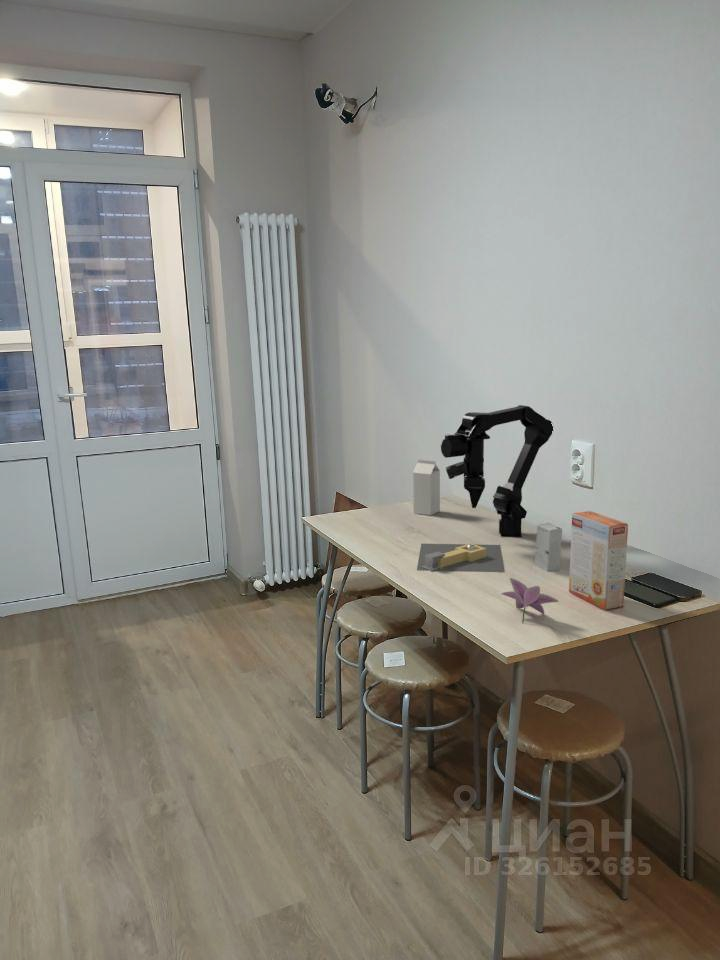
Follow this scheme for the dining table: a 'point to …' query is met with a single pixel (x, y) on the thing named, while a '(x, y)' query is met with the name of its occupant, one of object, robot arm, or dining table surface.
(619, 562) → the cracker box
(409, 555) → the dining table surface
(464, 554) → the link
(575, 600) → the dining table surface
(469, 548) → the cylinder
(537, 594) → the lily
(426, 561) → the keeper
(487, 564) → the mat
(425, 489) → the milk carton
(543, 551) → the skincare box
